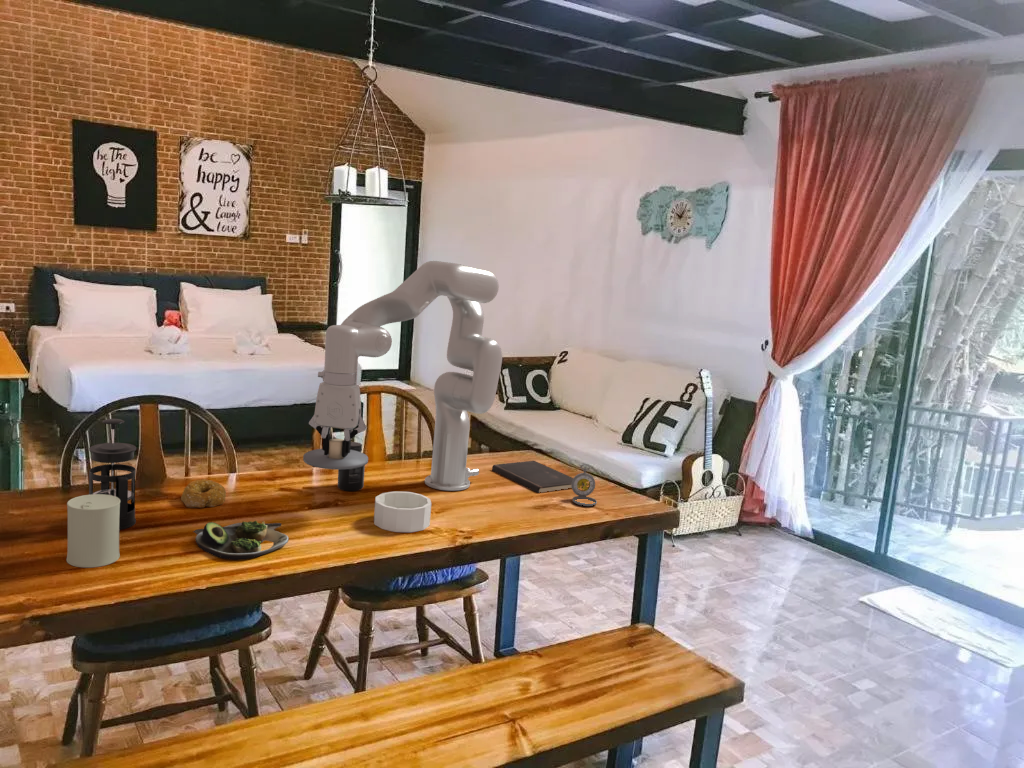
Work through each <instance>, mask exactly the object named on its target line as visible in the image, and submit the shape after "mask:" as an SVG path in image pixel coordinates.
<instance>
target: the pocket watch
mask: <svg viewBox="0 0 1024 768" xmlns="http://www.w3.org/2000/svg"><path fill="white" fill-rule="evenodd" d="M583 466H587V467H584V468H582V467H583ZM590 467H591V466H590V465H589V464H586V463H585V464H581V465H580V469H581V470H582V471H583V472H580V473H577V474H576V475H575V476H573V477H572V478H573V480H572V484H571V487H572V489H571V490H572V491H573V493H574V494H575V495H576V496H574V497H572V502H573V503H574V504H575V505H579V506H582V505H583V506H584V507H593V505H594V506H596V505H597V503H598V501H597V500H596V498H593V497H590V496H589V495H591V494H592V493H593V492H594V491H595V488H596V481H595V478H594V477H593V476H592V475H591V474H589V473H587V471H588V470H590ZM577 485H578V486H579V487H578V486H577ZM577 499H588V500H590V501H593V502H595V503H593V504H585V503H580V502H577V501H575V500H577Z"/></svg>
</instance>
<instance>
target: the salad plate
mask: <svg viewBox="0 0 1024 768" xmlns="http://www.w3.org/2000/svg"><path fill="white" fill-rule="evenodd" d="M281 527H282V523H280V522H273V523H272V522H271V523H266V521H265V520H263V521H262V522H261V523H260V522H258V521H257V520H254V521H242V522H236V523H233V524H228V525H225V526H222V525H220V524H218V523H216V522H213V521H212V522H211V521H210V522H207V523H206V524H205V526H204V527H203V528H198V529H195V530H192V533H195V535H196V536H195V543H196V545H197V546H198V548H199V549H200V550H202V551H204V552H206V553H207V554H210V555H212V556H214V557H216V558H220V559H223V560H224V559H225V560H230V561H232V560H233V561H242V560H243V561H244V560H250V559H255V558H258V557H260V556H263V555H266V554H268V553H269V554H270V553H272V552H273V551H276V550H277V549H280V548H282V547H284V546H285V545H287V544H288V542H289V536H288V535H286V534H285V533H282V532H279V531H277V530H276V529H278V528H281ZM265 541H266V542H271V543H273V545H272V546H271V547H270V548H267V549H264V550H262V544H261V543H263V542H265Z"/></svg>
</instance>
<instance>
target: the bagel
mask: <svg viewBox="0 0 1024 768" xmlns="http://www.w3.org/2000/svg"><path fill="white" fill-rule="evenodd" d="M226 492H227V491H226V489H225V486H223V485H222V484H220V483H219V482H217V481H214V480H211V479H205V478H202V479H196V480H193V481H190V482H189V483H188V484H187V485H186V486H185V487H184V489H183V491H182V494H181V496H180V500H181V502H183V504H184V505H185V507H186V508H190V509H195V508H196V509H197V508H198V509H204V508H205V507H214V508H215V507H216V506H221V505H223V504H224V502H225V499H226V496H227V495H226V494H227V493H226Z"/></svg>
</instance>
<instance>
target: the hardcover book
mask: <svg viewBox="0 0 1024 768" xmlns="http://www.w3.org/2000/svg"><path fill="white" fill-rule="evenodd" d="M491 471H492V472H494V473H496V474H498V475H501V476H502V477H504V478H507V479H509V480H511V481H512V482H515V483H517V484H518V485H521V486H522V487H525V488H527V489H529V490H531V491H533V492H535V493H537V494H540V492H541V493H547V491H549V492H556V491H555V490H557V491H562V490H561V489H564V490H569V489H568V488H572V487H571V484H572V480H573V478H574V477H572V476H570V475H567V474H566V473H563V472H560V471H558V470H556V469H554V468H552V467H551V466H550V467H549V466H547V465H544V464H543V463H540V462H538V461H536V460H528V461H517V462H516V461H515V462H509V463H507V462H506V463H499V464H496V463H495V464H493V465H492V468H491ZM577 486H578V485H577ZM578 487H579V486H578Z"/></svg>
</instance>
